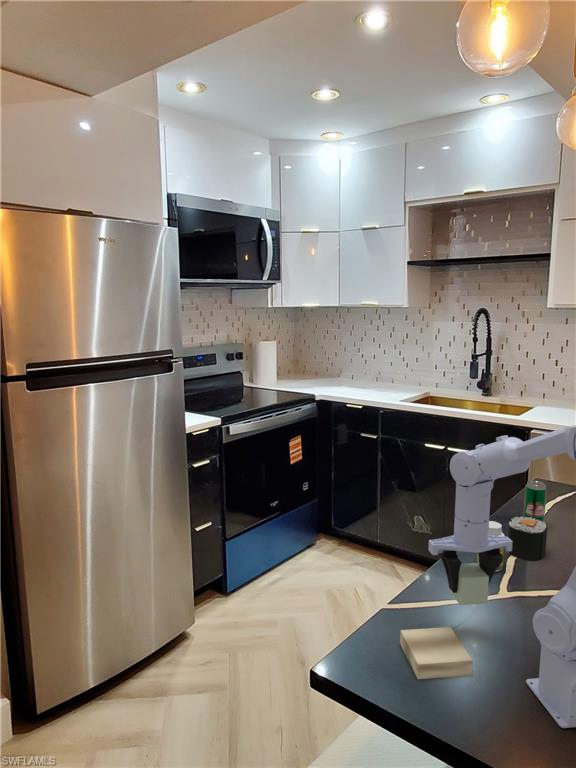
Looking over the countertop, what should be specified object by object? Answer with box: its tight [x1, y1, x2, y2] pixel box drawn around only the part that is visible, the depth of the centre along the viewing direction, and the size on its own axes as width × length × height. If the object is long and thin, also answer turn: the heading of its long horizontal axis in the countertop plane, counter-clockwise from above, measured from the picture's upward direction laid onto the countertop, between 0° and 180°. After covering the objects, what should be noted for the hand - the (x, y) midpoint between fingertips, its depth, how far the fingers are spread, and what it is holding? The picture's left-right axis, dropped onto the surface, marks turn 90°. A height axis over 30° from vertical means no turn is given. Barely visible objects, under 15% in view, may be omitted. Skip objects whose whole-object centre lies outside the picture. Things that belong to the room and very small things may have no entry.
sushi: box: [507, 516, 548, 562], centre depth 127 cm, size 8×8×8 cm
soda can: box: [522, 480, 547, 523], centre depth 142 cm, size 5×5×12 cm
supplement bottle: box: [476, 520, 506, 573], centre depth 120 cm, size 6×6×10 cm
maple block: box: [399, 626, 474, 680], centre depth 90 cm, size 9×9×3 cm
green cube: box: [448, 562, 490, 606], centre depth 96 cm, size 5×5×5 cm
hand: (467, 589), depth 96 cm, fingers closed on green cube, 5 cm apart
